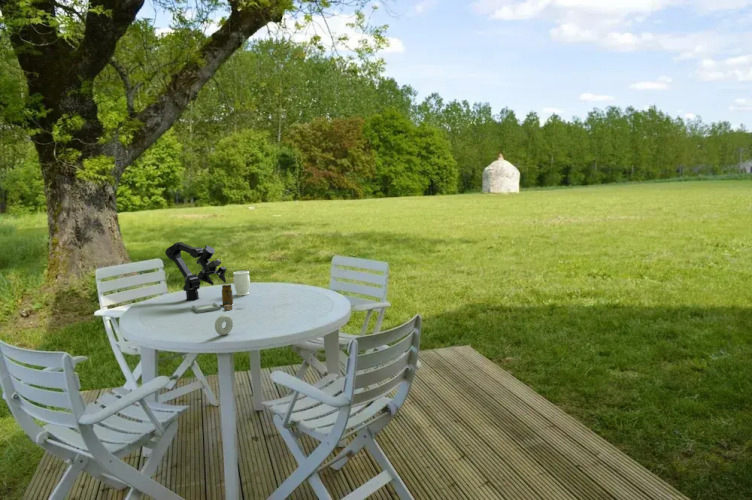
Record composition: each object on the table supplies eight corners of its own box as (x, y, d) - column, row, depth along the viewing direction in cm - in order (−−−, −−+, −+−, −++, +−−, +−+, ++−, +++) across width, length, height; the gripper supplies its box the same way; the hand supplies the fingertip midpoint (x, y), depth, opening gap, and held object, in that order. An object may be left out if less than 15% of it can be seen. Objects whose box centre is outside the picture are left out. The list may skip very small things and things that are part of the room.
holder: (192, 309, 327) (192, 306, 327) (214, 305, 333) (214, 302, 333) (197, 313, 316) (197, 310, 316) (220, 309, 322) (220, 306, 322)
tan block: (224, 309, 323) (224, 305, 322) (229, 308, 325) (228, 304, 324) (227, 310, 320) (227, 306, 319) (232, 309, 322) (232, 305, 321)
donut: (218, 338, 265) (216, 317, 263) (213, 336, 267) (212, 316, 265) (235, 332, 272) (233, 313, 271) (230, 331, 275) (229, 312, 273)
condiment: (230, 302, 340) (229, 283, 339) (237, 305, 334) (235, 285, 332) (219, 304, 336) (218, 285, 334) (225, 307, 329) (224, 287, 328)
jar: (248, 296, 358) (247, 273, 356) (232, 296, 358) (231, 273, 356) (252, 292, 368) (251, 270, 367) (237, 293, 369) (235, 270, 367)
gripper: (198, 257, 330) (212, 277, 325) (223, 253, 345) (237, 272, 340) (191, 270, 335) (204, 289, 331) (216, 265, 351) (229, 283, 346)
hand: (219, 283), depth 337 cm, fingers open, 9 cm apart
